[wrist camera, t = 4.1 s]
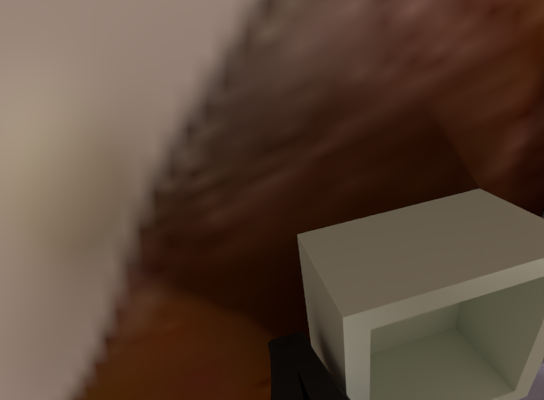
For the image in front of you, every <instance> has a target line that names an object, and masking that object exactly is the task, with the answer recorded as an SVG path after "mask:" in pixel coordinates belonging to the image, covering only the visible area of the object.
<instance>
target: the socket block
mask: <svg viewBox="0 0 544 400" xmlns="http://www.w3.org/2000/svg"><path fill="white" fill-rule="evenodd" d="M297 239H298V247H299V254H300V262H301V270H302V278H303V286H304V293H305V301H306V309H307V317H308V324H309V332H310V340H311V346H312V348H313V349H314V351H315V352H316V354H317V355H318V357H319V358H320V360H321V361H322V363H323V364H324V366H325V367H326V368H327V370H328V371H329V373H330V374H331V375H332V377H333V378H334V379H335V380H336V382H337V383H338V384H339V386H340V387H341V388H342V390H343V391H344V392H345V393H346V395H347V396H348V397H349V398H350V400H518V399H521V398H524V397H526V396H527V395H528V392H529V390H530V388H531V386H532V383H533V381H534V379H535V377H536V374H537V372H538V370H539V367H540V365H541V363H542V361H543V358H544V219H543V218H541V217H539V216H537V215H535V214H532V213H530V212H528V211H526V210H524V209H522V208H520V207H518V206H515V205H513V204H511V203H509V202H507V201H505V200H503V199H501V198H499V197H496V196H494V195H492V194H490V193H488V192H486V191H484V190H482V189H476V190H472V191H468V192H464V193H460V194H456V195H452V196H448V197H444V198H440V199H436V200H432V201H428V202H424V203H420V204H416V205H412V206H408V207H404V208H400V209H396V210H392V211H388V212H384V213H380V214H376V215H372V216H368V217H364V218H360V219H356V220H352V221H349V222H345V223H341V224H337V225H333V226H329V227H325V228H321V229H317V230H313V231H309V232H305V233H301V234H297Z"/></svg>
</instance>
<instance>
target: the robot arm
mask: <svg viewBox="0 0 544 400" xmlns="http://www.w3.org/2000/svg"><path fill="white" fill-rule="evenodd" d="M268 346H269V351H270V360H271V400H350V398H349V397H348V396H347V395H346V393H345V392H344V391H343V390H342V388H341V387H340V386H339V384H338V383H337V382H336V380H335V379H334V378H333V377H332V375H331V374H330V373H329V371H328V370H327V368H326V367H325V366H324V364H323V363H322V361H321V360H320V358H319V357H318V355H317V354H316V352H315V351H314V349H313V348H312V346H311V344H310V342H309V341H308V339H307V337H306V335H305V333H304V332H297V333H294V334H290V335H287V336H284V337H280V338H277V339H273V340H271V341H270V342H269V343H268ZM518 400H544V359H543V361H542V363H541V365H540V367H539V370H538V372H537V374H536V377H535V379H534V381H533V383H532V386H531V388H530V390H529V392H528V395H527V396H526V397H524V398H521V399H518Z"/></svg>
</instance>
